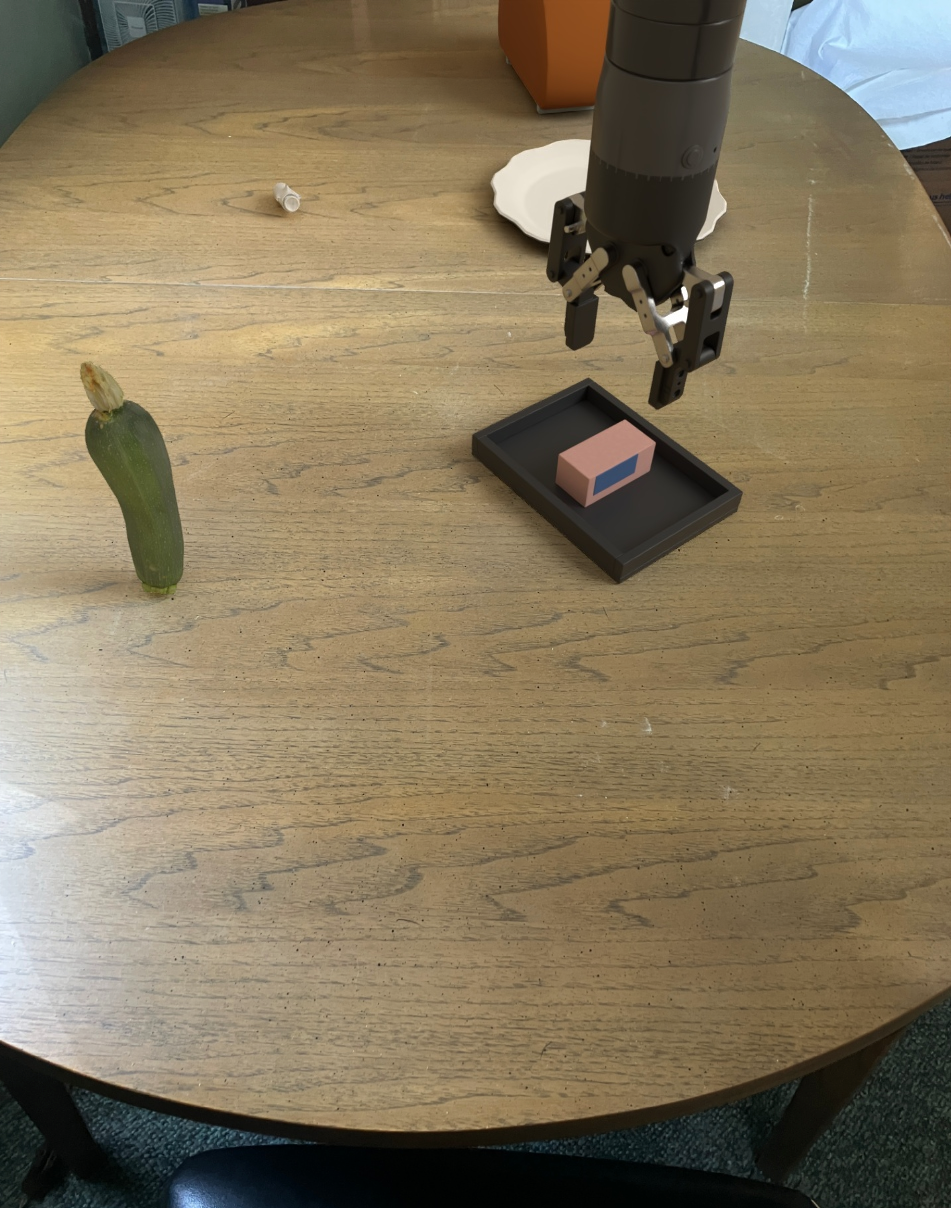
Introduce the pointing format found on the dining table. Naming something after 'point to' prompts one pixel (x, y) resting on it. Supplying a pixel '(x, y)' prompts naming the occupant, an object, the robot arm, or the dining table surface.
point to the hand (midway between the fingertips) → (619, 373)
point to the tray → (627, 515)
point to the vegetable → (136, 479)
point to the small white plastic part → (286, 197)
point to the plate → (557, 188)
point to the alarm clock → (555, 49)
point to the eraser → (604, 462)
